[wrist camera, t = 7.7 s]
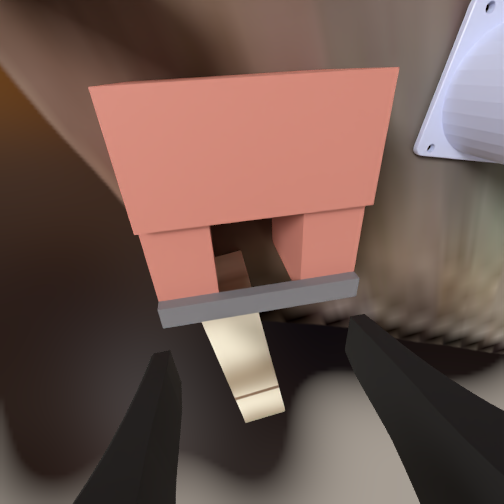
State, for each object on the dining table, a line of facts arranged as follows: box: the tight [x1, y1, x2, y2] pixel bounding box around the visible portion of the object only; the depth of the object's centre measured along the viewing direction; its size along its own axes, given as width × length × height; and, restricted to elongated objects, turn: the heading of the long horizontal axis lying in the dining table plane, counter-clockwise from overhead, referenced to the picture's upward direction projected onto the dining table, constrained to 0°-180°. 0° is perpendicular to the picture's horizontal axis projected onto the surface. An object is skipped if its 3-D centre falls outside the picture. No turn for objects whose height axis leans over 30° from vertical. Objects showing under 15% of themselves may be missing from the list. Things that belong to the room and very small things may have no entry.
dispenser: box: [88, 67, 399, 328], centre depth 15 cm, size 10×10×7 cm
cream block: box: [202, 250, 285, 423], centre depth 21 cm, size 12×3×6 cm, turn 12°
